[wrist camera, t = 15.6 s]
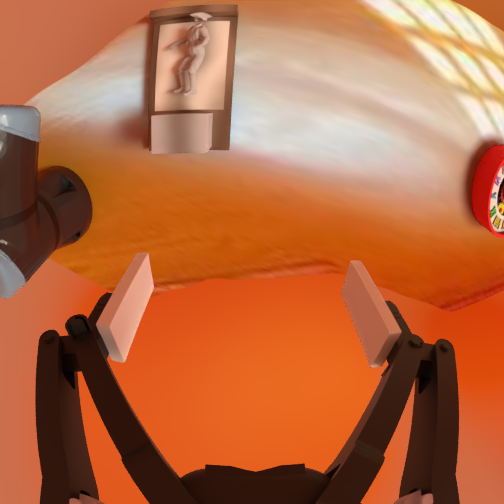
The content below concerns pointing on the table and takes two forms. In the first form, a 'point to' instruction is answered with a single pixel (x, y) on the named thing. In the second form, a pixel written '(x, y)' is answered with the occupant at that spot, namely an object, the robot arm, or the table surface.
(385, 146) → the table surface
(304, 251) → the table surface
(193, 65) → the soldier figure
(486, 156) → the toy clock
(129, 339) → the robot arm
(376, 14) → the table surface
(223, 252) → the table surface
